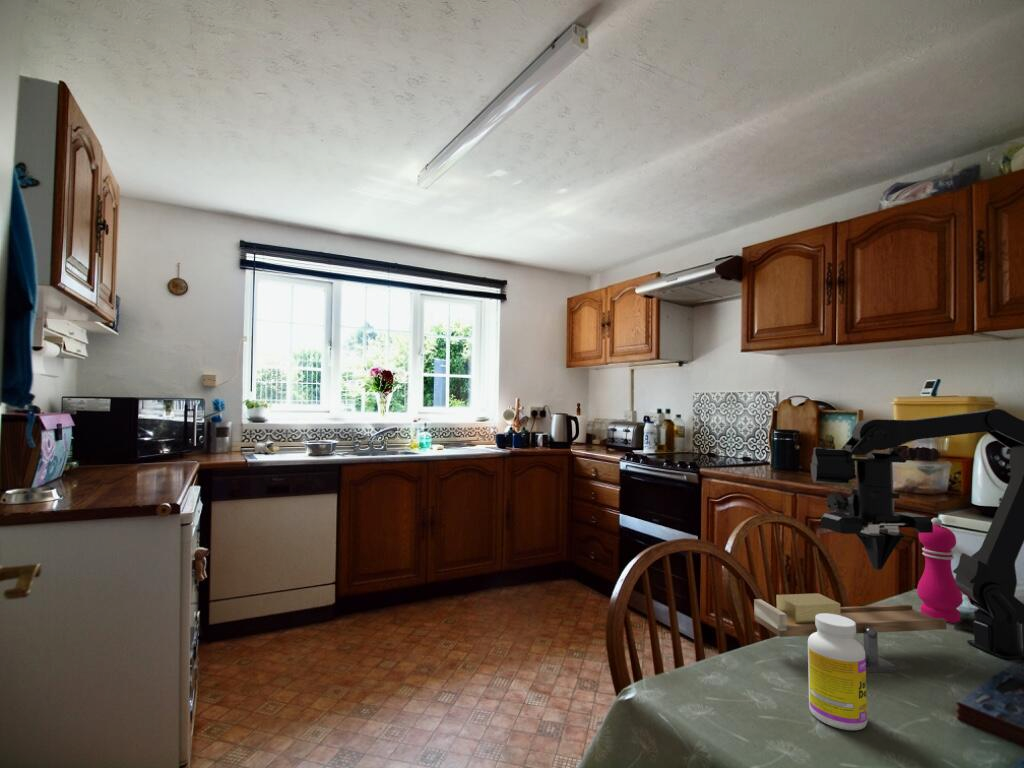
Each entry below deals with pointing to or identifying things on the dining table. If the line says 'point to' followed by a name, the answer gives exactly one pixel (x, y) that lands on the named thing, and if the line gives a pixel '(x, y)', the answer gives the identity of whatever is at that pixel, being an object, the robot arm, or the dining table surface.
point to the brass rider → (805, 607)
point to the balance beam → (863, 616)
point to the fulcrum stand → (874, 653)
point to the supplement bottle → (837, 673)
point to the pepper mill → (939, 575)
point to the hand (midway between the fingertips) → (877, 569)
